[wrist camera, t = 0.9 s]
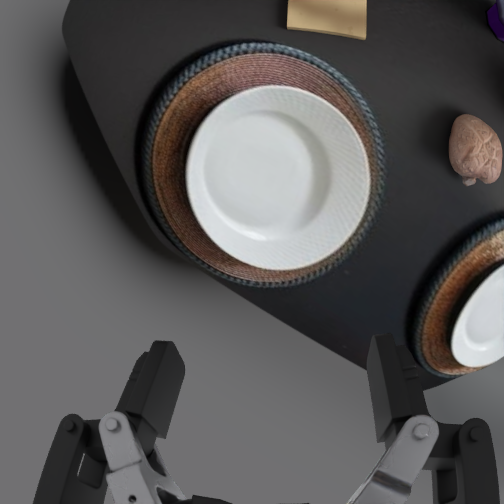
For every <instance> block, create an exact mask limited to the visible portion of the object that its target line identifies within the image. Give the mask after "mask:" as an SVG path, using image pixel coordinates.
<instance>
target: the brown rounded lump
mask: <svg viewBox="0 0 504 504" xmlns="http://www.w3.org/2000/svg"><path fill="white" fill-rule="evenodd" d="M449 159H450V163H451V165H452V167H453V169H454V171H456V172H457V173H458V174H460V175H461V176H462V179H463V183H464V184H465V185H466V186H468V185H472V184H475V182H476V177H477V178H479V179H480V180H481V181H482V182H484V183H485V184H486V183H489V184H490V183H492V182H494V181H496V180H497V179H498V177H499V175H500V172H501V166H502V148H501V144H500V141H499V139H498V137H497V135H496V133H495V132H494V131H493V129H492V128H491V127H490V126H488V125H487V124H485V123H484V121H481V120H480V119H478V118H477V117H474V116H473V115H470V114H469V115H468V114H465V115H464V114H463V115H461V116H459V117H457V118H456V120H455V121H454V123H453V126H452V129H451V136H450V139H449Z"/></svg>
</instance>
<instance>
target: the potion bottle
mask: <svg viewBox="0 0 504 504" xmlns="http://www.w3.org/2000/svg"><path fill="white" fill-rule="evenodd" d="M496 2H497V3H495V4H494V5H493V6H492V7H491V8H490V9H488V10H487V11H485V12H486V19H487V25H488V26H489V28H490V29H491V31H492V32H493V34H494V35H495V37H496V38H497V39H498V40H499V41H501V42H503V43H504V0H496Z"/></svg>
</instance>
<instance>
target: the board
mask: <svg viewBox="0 0 504 504" xmlns="http://www.w3.org/2000/svg"><path fill="white" fill-rule="evenodd" d="M287 29H291V30H302V31H311V32H319V33H326V34H333V35H339V36H345V37H350V38H355V39H360V40H365V38H366V0H288V15H287Z"/></svg>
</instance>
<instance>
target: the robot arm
mask: <svg viewBox="0 0 504 504" xmlns="http://www.w3.org/2000/svg"><path fill="white" fill-rule="evenodd" d="M367 374H368V380H369V386H370V392H371V399H372V406H373V413H374V420H375V428H376V436H377V443H379V442H385V447H386V451H385V452H384V453H383V455H382V456H381V458H380V459H379V461H378V463H377V464H376V465H375V467H374V468H373V470H372V471H371V472H370V474H369V475H368V477H367V478H366V479H365V481H364V482H363V484H362V485H361V486H360V487H359V489H358V490H357V491H356V492H355V493H354V495H353V496H352V497H351V498H350V499H349V500H348V502H347V503H346V504H404V503H405V502H406V500H407V499H408V497H409V495H410V493H411V487H412V485H413V483H414V481H415V480H416V478H417V476H418V475H419V473H420V471H421V470H432V486H433V504H500V499H499V485H498V476H497V468H496V460H495V454H494V448H493V443H492V438H491V433H490V429H489V426H488V424H487V423H486V422H485V421H484V420H482V419H479V418H473V419H469V420H468V421H466V422H465V423H464V424H463V425H458V424H443V423H440V422H438V421H436V420H434V419H433V418H432V417H431V415H430V414H429V413H428V410H427V406H426V402H425V398H424V394H423V390H422V387H421V383H420V379H419V377H418V372H417V369H416V368H415V362H414V359H413V356H412V354H411V353H410V351H409V350H408V349H407V348H406V347H405V345H400V346H396V345H395V342H394V338H393V336H392V334H391V333H388V334H380V335H373V336H372V338H371V343H370V348H369V352H368V357H367ZM184 375H185V365H184V362H183V360H182V358H181V356H180V355H179V352H178V350H177V348H176V346H175V344H174V343H173V342H172V341H155V342H153V344H152V346H151V348H150V351H149V352H144V353H143V354H142V355H141V357H139V359H138V360H137V361H136V363H135V366H134V368H133V372H132V373H131V375H130V377H129V380H128V382H127V384H126V386H125V389H124V391H123V393H122V396H121V398H120V401H119V403H118V405H117V408H116V409H115V411H113V412H109V413H108V414H106V415H104V416H103V418H102V419H99V420H83V419H82V418H81V417H80V416H78V415H76V414H69V415H67V416H65V417H64V418H63V419H62V421H61V422H60V425H59V427H58V430H57V432H56V435H55V437H54V440H53V443H52V446H51V448H50V451H49V454H48V457H47V460H46V463H45V465H44V469H43V471H42V474H41V478H40V481H39V484H38V487H37V491H36V494H35V498H34V501H33V504H103V503H104V499H105V495H106V491H107V486H109V489H110V492H111V494H112V497H113V500H114V503H115V504H232V503H229V502H226V501H223V500H221V499H214V498H208V497H202V496H196V495H193V496H192V499H186V498H185V497H184V494H183V493H182V491H181V489H180V488H179V487H178V485H177V484H176V483H175V482H174V481H173V480H172V478H171V476H170V474H169V472H168V470H167V468H166V466H165V464H164V462H163V460H162V458H161V455H160V453H159V451H158V448H157V446H156V444H155V440H156V437H159V438H164V439H166V435H167V432H168V429H169V425H170V422H171V418H172V415H173V412H174V408H175V405H176V402H177V398H178V395H179V392H180V389H181V385H182V382H183V379H184ZM83 453H84V454H85V456H84V459H83V462H82V466H81V469H80V472H79V475H78V476H77V473H78V469H79V466H80V463H81V460H82V457H83ZM304 504H309V503H304Z"/></svg>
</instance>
